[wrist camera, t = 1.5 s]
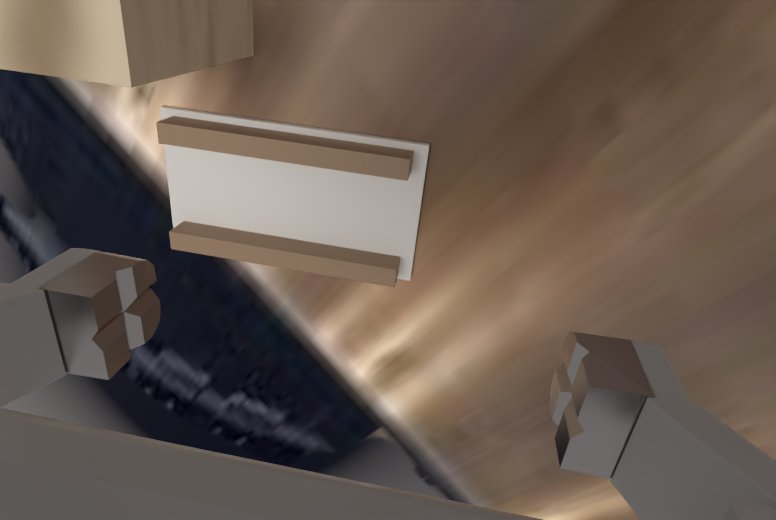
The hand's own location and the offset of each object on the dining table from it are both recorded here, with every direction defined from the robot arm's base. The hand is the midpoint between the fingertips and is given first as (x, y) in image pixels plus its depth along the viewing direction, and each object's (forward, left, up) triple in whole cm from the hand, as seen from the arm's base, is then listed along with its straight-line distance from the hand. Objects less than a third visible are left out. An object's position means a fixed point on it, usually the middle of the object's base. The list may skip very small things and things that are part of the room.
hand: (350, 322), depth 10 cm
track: (-4, -13, -28) cm, 31 cm away
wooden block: (-16, -6, -28) cm, 33 cm away
